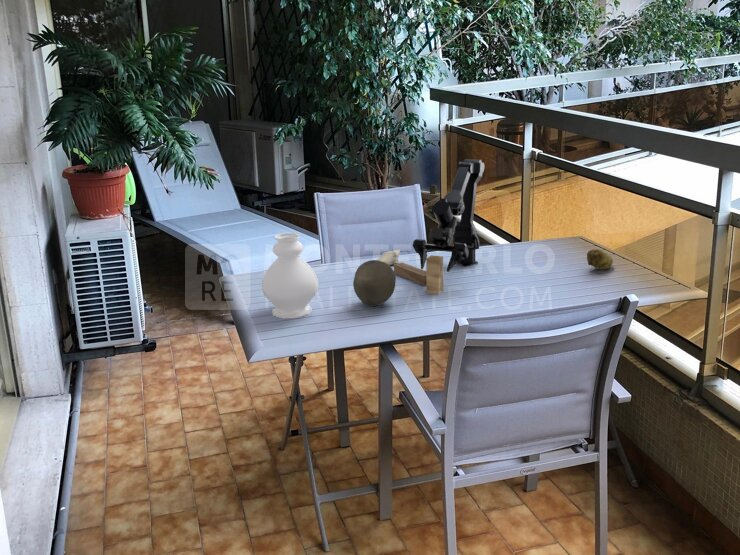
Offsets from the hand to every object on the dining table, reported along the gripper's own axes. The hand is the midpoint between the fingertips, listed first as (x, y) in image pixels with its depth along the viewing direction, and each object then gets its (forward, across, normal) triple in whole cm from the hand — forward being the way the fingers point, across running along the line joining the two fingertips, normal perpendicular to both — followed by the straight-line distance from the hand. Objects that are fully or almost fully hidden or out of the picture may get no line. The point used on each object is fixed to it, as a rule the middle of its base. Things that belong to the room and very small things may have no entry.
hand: (434, 270), depth 249 cm
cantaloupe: (+20, -13, -8) cm, 25 cm away
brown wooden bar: (-2, -12, +13) cm, 18 cm away
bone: (-7, -27, +19) cm, 33 cm away
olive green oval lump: (-26, +48, +37) cm, 66 cm away
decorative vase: (+30, -36, -18) cm, 50 cm away
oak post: (+5, 0, +6) cm, 8 cm away
